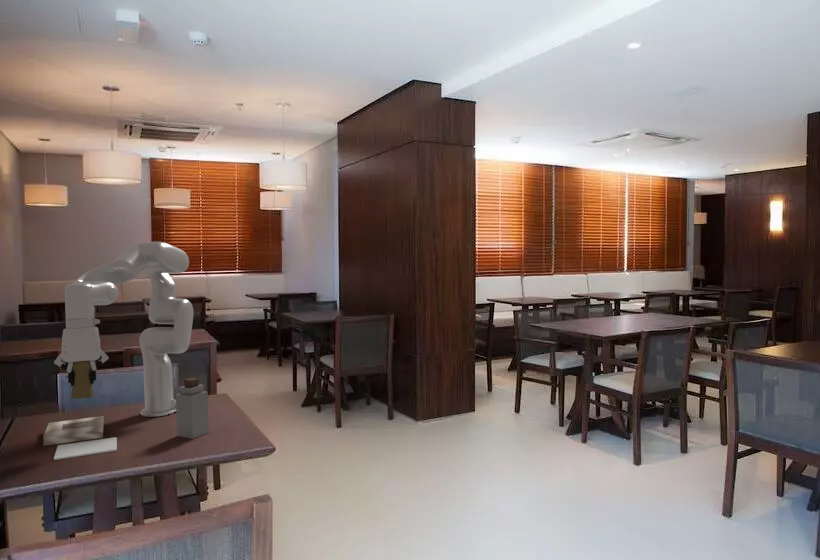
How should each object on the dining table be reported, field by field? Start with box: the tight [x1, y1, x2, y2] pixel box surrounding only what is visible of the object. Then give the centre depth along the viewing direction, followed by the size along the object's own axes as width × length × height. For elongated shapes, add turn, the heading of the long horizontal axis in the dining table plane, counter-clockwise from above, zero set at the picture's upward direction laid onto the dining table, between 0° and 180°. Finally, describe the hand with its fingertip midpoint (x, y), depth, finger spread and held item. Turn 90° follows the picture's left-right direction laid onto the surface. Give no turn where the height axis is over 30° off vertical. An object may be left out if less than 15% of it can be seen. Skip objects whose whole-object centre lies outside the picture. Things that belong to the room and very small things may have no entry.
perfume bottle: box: [175, 377, 210, 440], centre depth 185 cm, size 7×7×18 cm
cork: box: [71, 361, 95, 400], centre depth 173 cm, size 6×6×11 cm
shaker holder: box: [42, 415, 105, 447], centre depth 187 cm, size 16×16×3 cm
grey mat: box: [53, 437, 118, 461], centre depth 172 cm, size 16×13×1 cm
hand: (82, 383), depth 173 cm, fingers closed on cork, 4 cm apart
